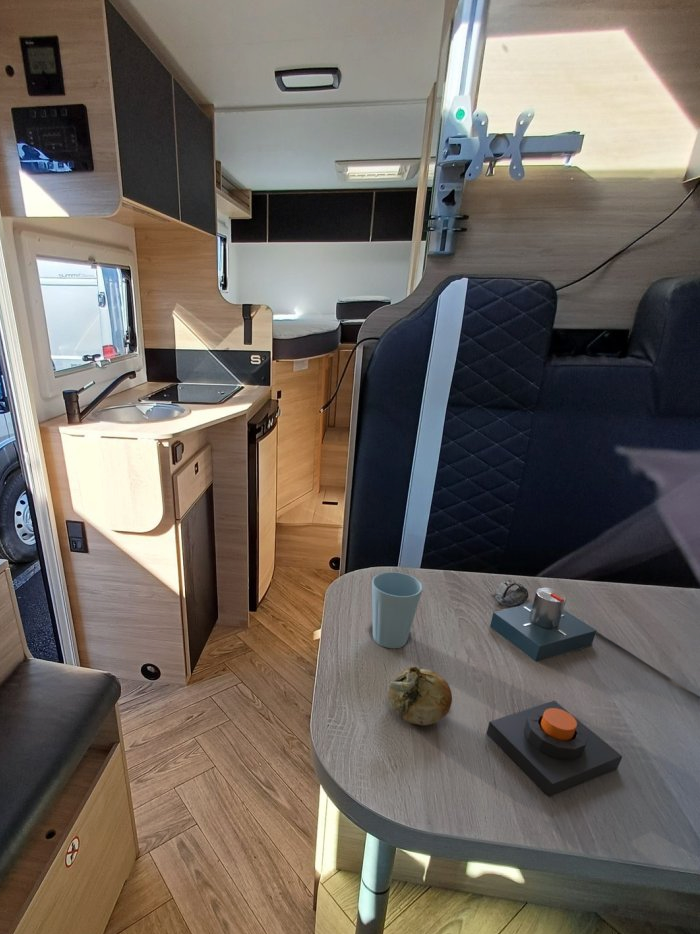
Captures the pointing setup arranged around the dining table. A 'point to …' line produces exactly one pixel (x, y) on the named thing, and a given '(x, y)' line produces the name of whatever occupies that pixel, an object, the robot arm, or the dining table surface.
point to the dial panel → (541, 632)
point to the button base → (552, 750)
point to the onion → (420, 696)
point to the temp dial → (547, 607)
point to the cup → (394, 607)
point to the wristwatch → (516, 596)
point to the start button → (558, 724)
